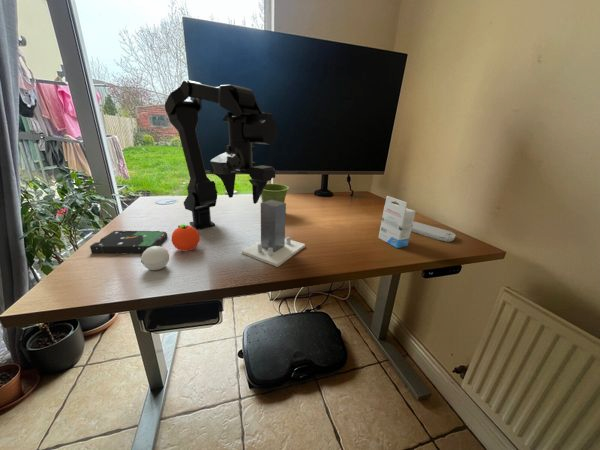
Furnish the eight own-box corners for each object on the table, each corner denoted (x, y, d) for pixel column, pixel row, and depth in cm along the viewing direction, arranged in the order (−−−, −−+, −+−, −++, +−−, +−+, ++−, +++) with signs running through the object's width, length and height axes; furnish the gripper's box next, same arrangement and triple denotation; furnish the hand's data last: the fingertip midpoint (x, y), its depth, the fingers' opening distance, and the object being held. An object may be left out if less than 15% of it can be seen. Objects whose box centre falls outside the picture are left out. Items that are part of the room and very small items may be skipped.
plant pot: (253, 217, 93) (253, 188, 89) (264, 208, 104) (264, 182, 99) (283, 221, 91) (284, 191, 86) (291, 211, 101) (292, 185, 97)
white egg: (148, 263, 59) (143, 242, 57) (173, 261, 60) (170, 241, 58) (135, 281, 52) (130, 258, 50) (164, 279, 53) (160, 256, 51)
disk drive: (91, 256, 61) (153, 255, 63) (88, 246, 60) (151, 245, 62) (115, 239, 71) (168, 238, 73) (113, 230, 70) (167, 230, 72)
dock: (241, 253, 66) (241, 244, 65) (272, 236, 77) (272, 228, 76) (277, 266, 60) (277, 257, 59) (304, 246, 72) (305, 238, 70)
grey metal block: (260, 247, 68) (260, 203, 63) (270, 241, 72) (271, 199, 67) (274, 252, 66) (275, 206, 61) (284, 246, 69) (285, 203, 64)
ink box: (408, 246, 76) (419, 201, 70) (397, 248, 74) (407, 202, 68) (388, 235, 83) (397, 194, 77) (377, 237, 81) (385, 195, 75)
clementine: (167, 247, 66) (163, 224, 64) (192, 240, 71) (189, 218, 69) (180, 258, 62) (176, 233, 59) (205, 250, 66) (203, 226, 64)
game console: (458, 232, 84) (452, 238, 78) (456, 238, 85) (449, 245, 79) (407, 218, 95) (398, 222, 90) (405, 223, 96) (397, 228, 91)
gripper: (189, 139, 60) (196, 200, 65) (246, 145, 51) (248, 214, 57) (224, 139, 69) (227, 192, 74) (277, 144, 60) (276, 204, 66)
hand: (242, 200), depth 68 cm, fingers open, 9 cm apart
